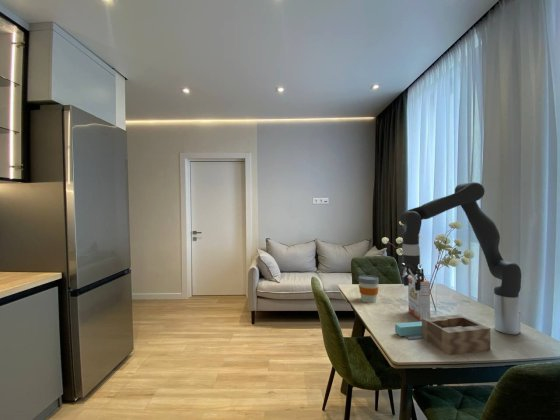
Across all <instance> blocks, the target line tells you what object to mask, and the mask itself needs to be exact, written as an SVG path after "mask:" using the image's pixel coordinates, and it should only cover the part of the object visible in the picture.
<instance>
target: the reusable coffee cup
mask: <svg viewBox="0 0 560 420" xmlns="http://www.w3.org/2000/svg"><path fill="white" fill-rule="evenodd" d="M379 281H380V280H379V277H377V276H375V275H371V274H370V275H369V274H368V275H367V274H365V275H359V276H358V283H359V284H358V289H359V293H360V298H361V301H362V302H363V303H366V302H367V304H368V303H369V304H373V303H376V302H377V297H378V296H377V295H378V293H379V283H380V282H379Z"/></svg>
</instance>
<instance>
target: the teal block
mask: <svg viewBox="0 0 560 420" xmlns="http://www.w3.org/2000/svg"><path fill="white" fill-rule="evenodd" d="M394 332H395V334H397V335H399V336H400V337H405V336H409V335H420V334H422V321H412V322H398V323H394Z"/></svg>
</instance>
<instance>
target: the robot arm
mask: <svg viewBox="0 0 560 420" xmlns="http://www.w3.org/2000/svg"><path fill="white" fill-rule="evenodd" d="M484 196H485V188H484V185H482V184H481V183H480V182H477V181H469V182H463V183H458V184H457V185H456V186H455V188H454V193H451V194H448V195H446V196H443V197H439V198H436V199H433V200H431V201H429V202H425V203H424V204H422V205H420V206H417V207H414V208H410V209H408V210H406V211H403V212H402V213H401V214H400V216H399V221H400V222H399V223H401V224H402V225H403V226H405V231H404V232H402V247H401V248H402V250H401V252H402V263H400V267H399V272H400V273H399V275H400V276H401V277H402V278H403V286H405V287H408V285H409V278H408V277H409V275H411V276H412V278H414V280H415V290H416V291H419V290H420V289H421V286H420V283H421V282H424V279H425V277H424V276H425V275H424V273H425V272H424V268H423V267H419V265H420V264H421V248H420V232H421V227H422V221H423V220H428V219H431V218H434V217H436V216H438V215H440V214H442V213H444V212H447V211H450V210H452V209H454V208H457V207H459V206H460V207H461V208H462V210H463V212H464V213H465V216H466V218H467V220H468V222H469V224H470V227H471V228H472V231H473V233H474V235H475V238H476V239H477V241H478V244H479V245H480V246H479V247H481V250H482V252H483V254H484V257H485V260H486V263H487V267H488V269H489V272H490V275H492V276H493V277H494V278H495V279H498V280H501V284H500V286H495V287H494V289H493V301H494V304H493V305H494V306H493V308H494V309H493V310H494V311H493V312H494V318H493V320H494V321H493V322H494V330H496V331H497V332H500V333H503V334H508V335H518V334H520V333H521V332H522V331H521V329H522V328H521V326H522V325H521V312H520V311H519V309H520V307H519V306H520V305H519V304H520V303H519V301H520V300H519V294H520V293H521V292H520V291H521V289H522V285H521V284H522V269H521V268H520V266H519V265H518V264H517V263H515V262H511V261H506V260H504V258H503V256H502V255H501V253H500V249H499V247H500V246H499V245H500V241H501V236H500V232H499V229H498V227H497V225H496V223H495V222H494V220H493V219H492V218H491V217H490V216H489V215H488V214H486V213H485V212H484V210H483V209H482V208H481V207H480V206H479V204H478V201H479V200H481V199H482V198H483V197H484ZM420 277H421V279H420ZM416 278H417V279H416Z"/></svg>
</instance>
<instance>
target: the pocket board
mask: <svg viewBox="0 0 560 420" xmlns="http://www.w3.org/2000/svg"><path fill="white" fill-rule="evenodd" d="M421 322H422V337H423V340H425V341H426V342H428V343H429V344H430V345H432V346H434V347H436V348H437V349H438V350H440V351H441V352H443V353H444V354H446V355H449V356H450V355H451V356H452V355H460V354H468V353H475V352H476V353H477V352H485V351H491V328H490V327H488V326H486V325H484V324H481V323H479V322H477V321H475V320H473V319H471V318H468V317H467V316H464V315H462V314H450V315H441V316H430V317H428V318H422V320H421Z"/></svg>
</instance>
